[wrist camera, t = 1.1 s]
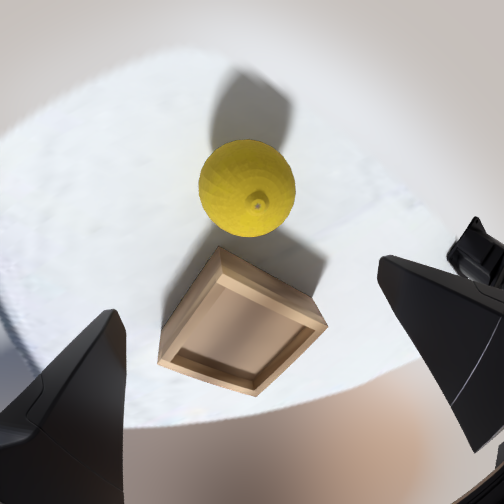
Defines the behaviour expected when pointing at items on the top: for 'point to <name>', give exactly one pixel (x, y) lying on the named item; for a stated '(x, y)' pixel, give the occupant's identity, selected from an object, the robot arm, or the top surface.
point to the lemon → (247, 188)
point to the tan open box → (238, 326)
